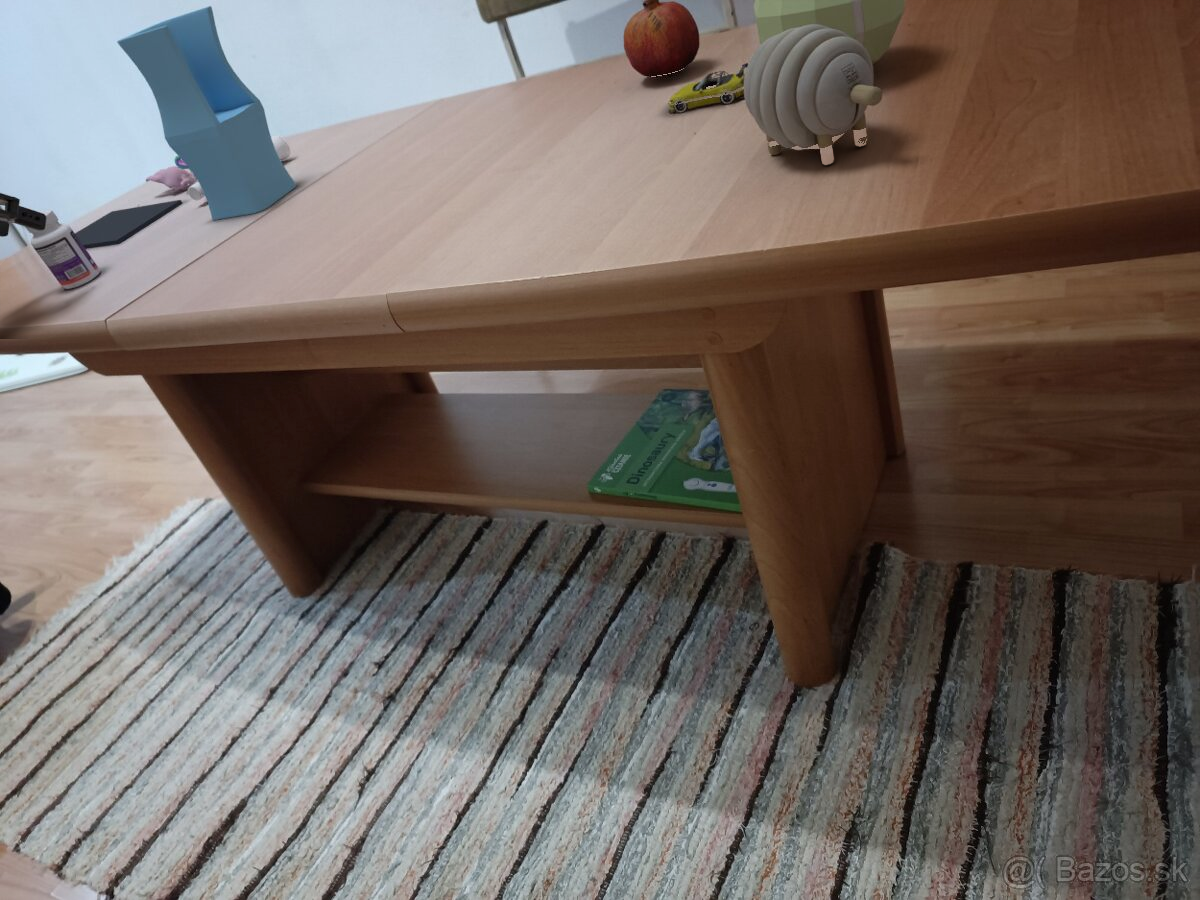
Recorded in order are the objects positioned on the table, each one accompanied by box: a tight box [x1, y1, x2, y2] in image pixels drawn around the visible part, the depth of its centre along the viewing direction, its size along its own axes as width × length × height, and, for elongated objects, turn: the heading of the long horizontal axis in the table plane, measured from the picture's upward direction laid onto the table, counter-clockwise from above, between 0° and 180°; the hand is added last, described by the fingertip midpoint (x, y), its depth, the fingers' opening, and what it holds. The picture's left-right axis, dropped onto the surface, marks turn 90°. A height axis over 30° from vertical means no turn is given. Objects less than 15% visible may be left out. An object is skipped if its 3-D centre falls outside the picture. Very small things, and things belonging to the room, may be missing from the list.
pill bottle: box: [25, 209, 101, 290], centre depth 119 cm, size 5×5×10 cm
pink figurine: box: [145, 155, 197, 191], centre depth 148 cm, size 6×6×15 cm
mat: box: [74, 199, 183, 249], centre depth 142 cm, size 18×14×1 cm
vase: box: [116, 5, 298, 221], centre depth 122 cm, size 10×10×25 cm
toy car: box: [667, 62, 749, 114], centre depth 103 cm, size 5×10×3 cm, turn 71°
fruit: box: [622, 0, 700, 79], centre depth 115 cm, size 11×10×10 cm
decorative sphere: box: [753, 0, 906, 65], centre depth 93 cm, size 15×15×15 cm
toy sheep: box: [740, 24, 883, 156], centre depth 79 cm, size 11×17×11 cm, turn 35°
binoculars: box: [187, 134, 291, 201], centre depth 140 cm, size 10×16×5 cm, turn 163°
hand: (25, 226), depth 115 cm, fingers open, 8 cm apart
